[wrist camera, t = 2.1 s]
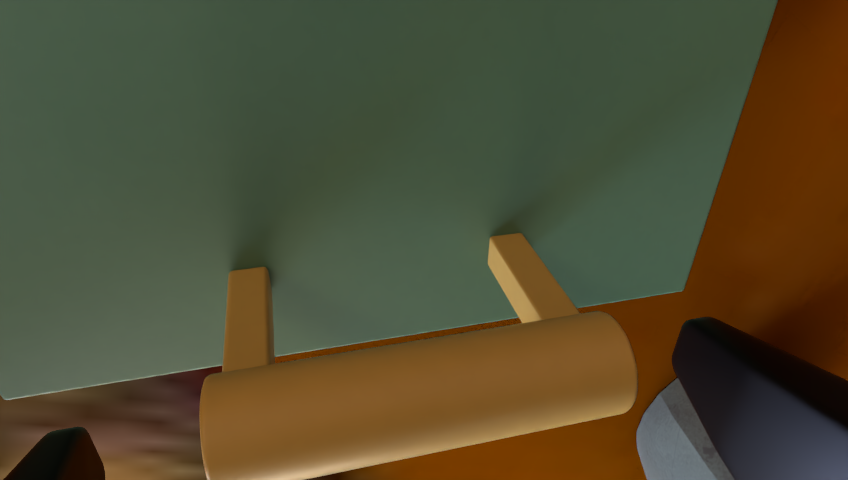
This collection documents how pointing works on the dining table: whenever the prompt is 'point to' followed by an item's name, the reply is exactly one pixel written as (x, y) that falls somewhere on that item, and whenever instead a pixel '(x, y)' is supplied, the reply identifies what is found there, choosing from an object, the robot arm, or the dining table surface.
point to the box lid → (356, 207)
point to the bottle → (677, 441)
